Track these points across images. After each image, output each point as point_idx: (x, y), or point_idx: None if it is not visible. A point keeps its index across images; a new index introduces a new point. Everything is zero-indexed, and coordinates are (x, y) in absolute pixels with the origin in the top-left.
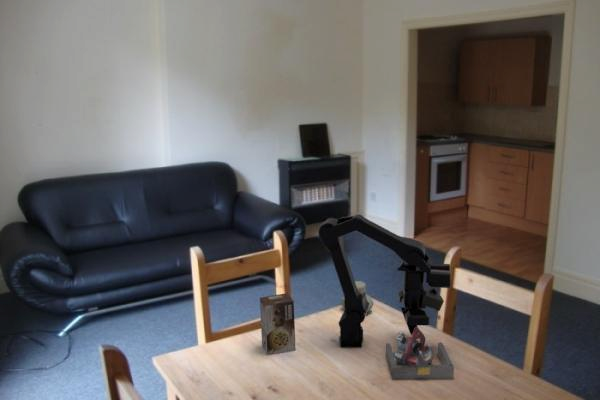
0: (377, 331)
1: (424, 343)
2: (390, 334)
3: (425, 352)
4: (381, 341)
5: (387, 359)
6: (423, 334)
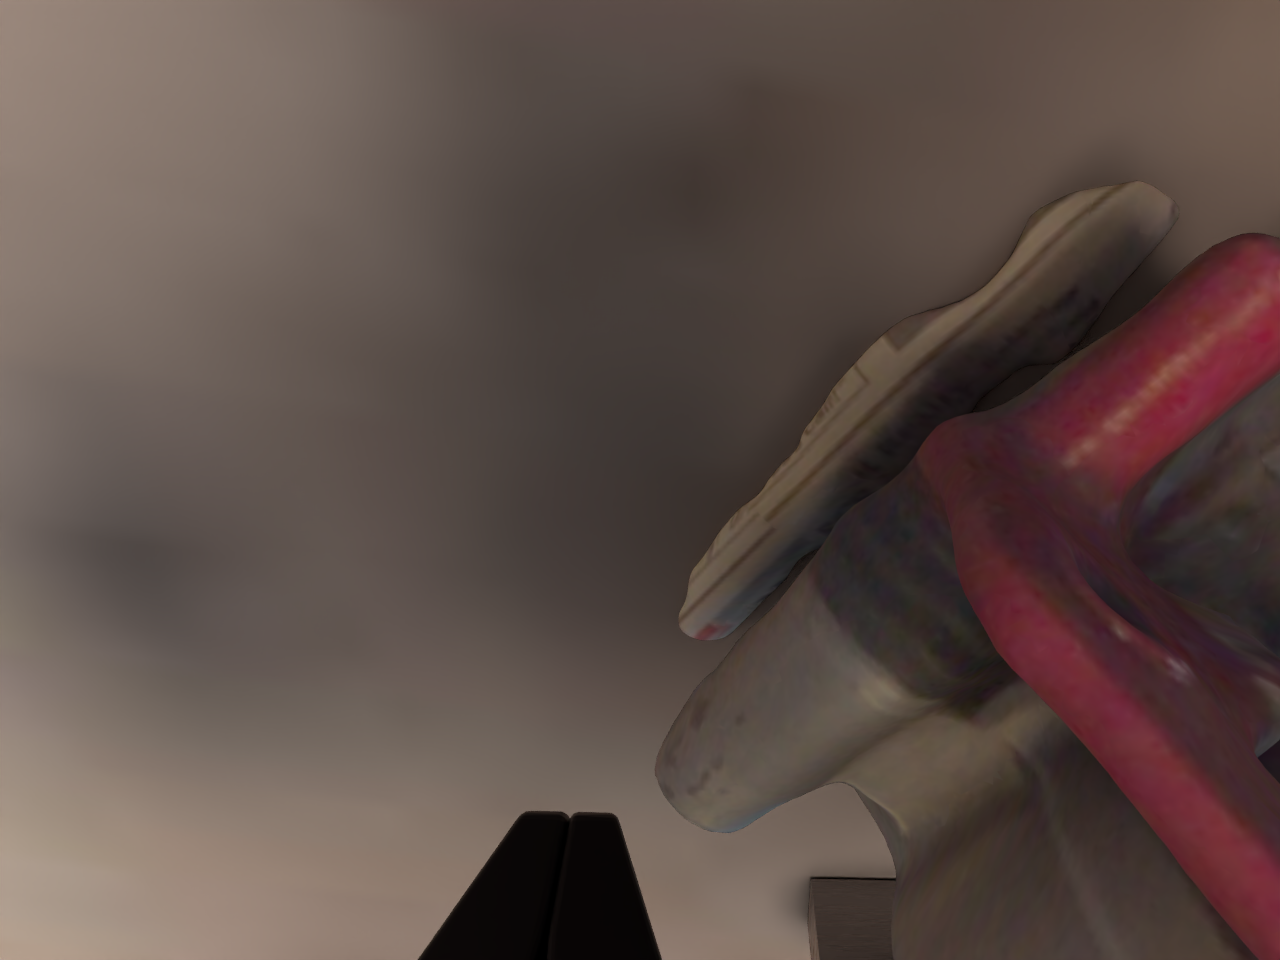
0: (6, 923)
1: (1032, 498)
2: (44, 781)
3: (1273, 431)
4: (352, 918)
5: None
6: (1257, 861)
